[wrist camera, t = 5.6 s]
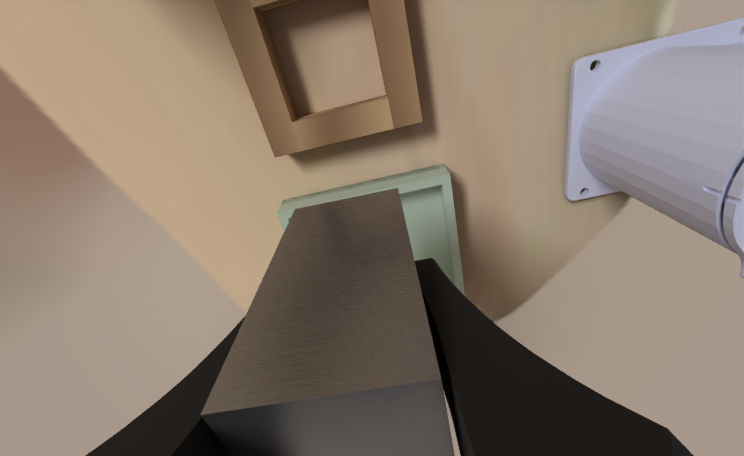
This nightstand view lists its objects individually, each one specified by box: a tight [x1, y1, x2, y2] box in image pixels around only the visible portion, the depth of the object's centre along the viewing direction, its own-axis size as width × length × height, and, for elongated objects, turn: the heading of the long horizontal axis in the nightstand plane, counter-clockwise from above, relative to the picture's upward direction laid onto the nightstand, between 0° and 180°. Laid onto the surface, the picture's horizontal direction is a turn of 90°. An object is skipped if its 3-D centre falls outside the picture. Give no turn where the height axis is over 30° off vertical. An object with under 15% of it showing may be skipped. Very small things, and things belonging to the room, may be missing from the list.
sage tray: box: [277, 164, 465, 296], centre depth 21 cm, size 10×10×2 cm
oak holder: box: [215, 0, 423, 157], centre depth 16 cm, size 8×8×2 cm
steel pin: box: [201, 188, 454, 456], centre depth 10 cm, size 4×4×8 cm
